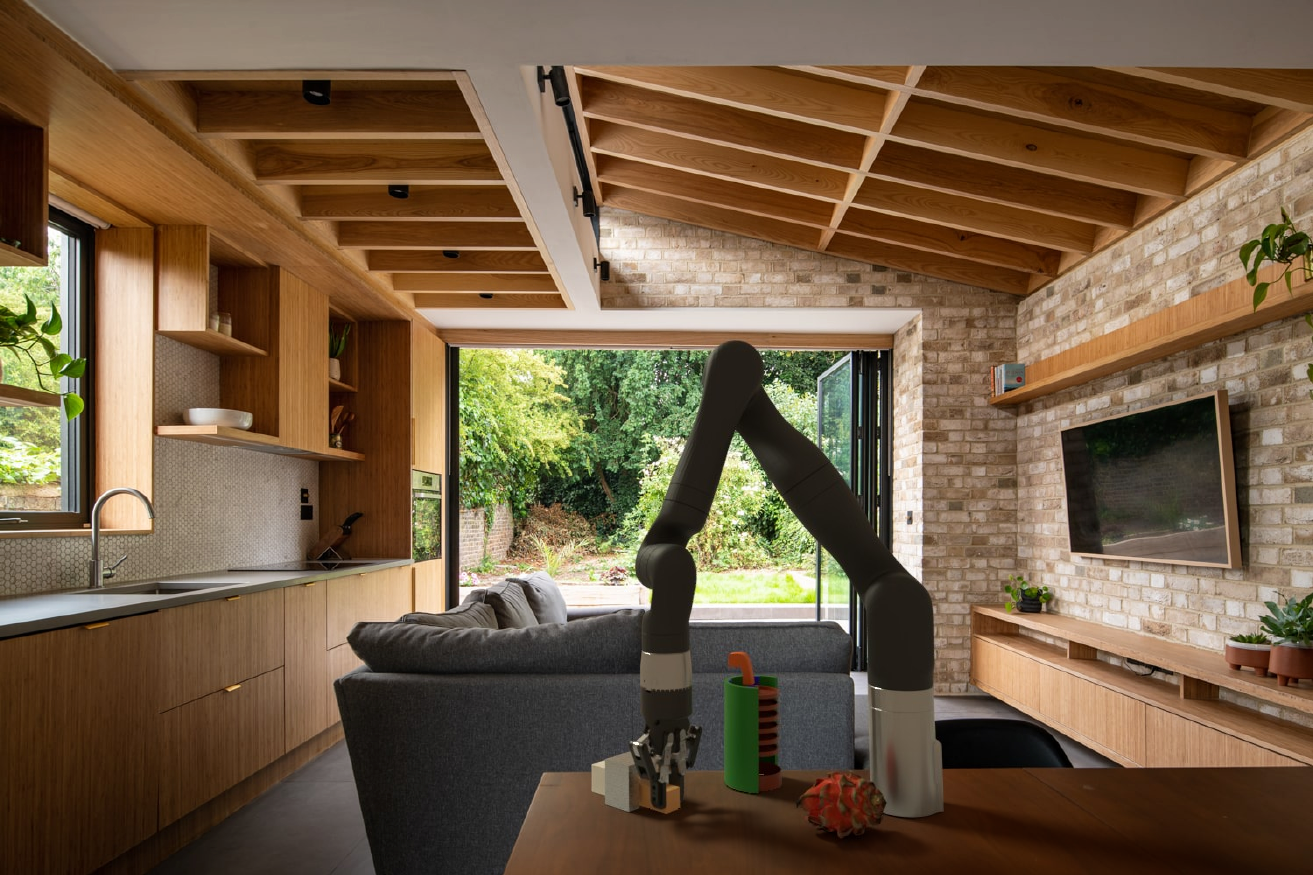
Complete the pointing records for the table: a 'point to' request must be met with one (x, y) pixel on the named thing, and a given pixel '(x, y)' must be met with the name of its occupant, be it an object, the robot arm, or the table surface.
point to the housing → (623, 782)
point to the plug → (644, 790)
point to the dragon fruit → (843, 804)
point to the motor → (751, 729)
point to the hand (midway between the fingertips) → (667, 803)
